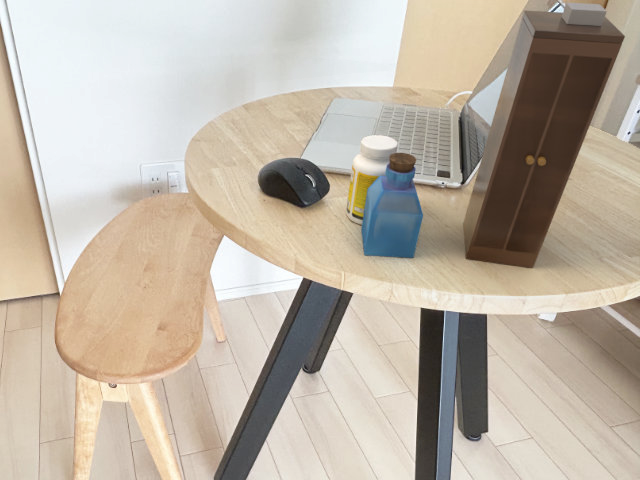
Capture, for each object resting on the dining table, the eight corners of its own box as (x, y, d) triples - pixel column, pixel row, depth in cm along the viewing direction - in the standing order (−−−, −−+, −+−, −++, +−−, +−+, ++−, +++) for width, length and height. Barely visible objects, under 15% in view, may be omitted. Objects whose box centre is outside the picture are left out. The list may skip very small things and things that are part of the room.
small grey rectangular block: (594, 19, 59) (599, 4, 58) (601, 26, 57) (607, 11, 56) (561, 17, 60) (566, 2, 59) (566, 24, 57) (571, 9, 56)
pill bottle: (399, 221, 79) (414, 146, 73) (362, 231, 77) (375, 155, 70) (372, 201, 84) (384, 129, 77) (337, 211, 82) (346, 137, 75)
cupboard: (463, 223, 79) (524, 10, 62) (524, 231, 78) (603, 14, 61) (466, 261, 72) (536, 31, 55) (533, 271, 70) (627, 37, 53)
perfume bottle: (361, 229, 78) (374, 146, 70) (407, 232, 77) (425, 148, 70) (364, 255, 73) (378, 168, 65) (413, 258, 72) (433, 171, 65)
